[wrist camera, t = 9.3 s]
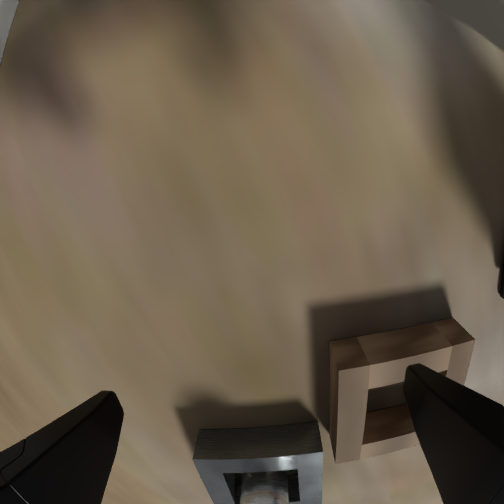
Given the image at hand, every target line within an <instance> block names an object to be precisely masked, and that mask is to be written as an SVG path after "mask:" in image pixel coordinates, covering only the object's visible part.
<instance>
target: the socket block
mask: <svg viewBox="0 0 504 504" xmlns="http://www.w3.org/2000/svg"><path fill="white" fill-rule="evenodd" d="M474 342H475V339H474V338H473V337H472V336H471V335H470V334H469V333H468V332H467V331H466V330H465V329H464V328H463V327H462V326H461V325H460V324H459V323H458V322H457V321H456V320H455V319H454V318H453V317H452V318H448V319H443V320H439V321H435V322H430V323H426V324H421V325H417V326H412V327H407V328H402V329H397V330H392V331H387V332H382V333H376V334H371V335H365V336H359V337H353V338H347V339H340V340H334V341H329V357H330V432H329V434H330V439H331V444H332V449H333V454H334V460H335V464H337V463H343V462H349V461H354V460H359V459H364V458H369V457H373V456H378V455H382V454H386V453H390V452H394V451H398V450H402V449H405V448H409V447H412V446H416V445H419V444H420V443H419V440H418V438H417V435H416V433H415V429H414V426H413V423H412V419H411V416H410V412H409V409H408V406H407V404H403V405H399V406H395V407H391V408H386V409H382V410H377V411H373V412H368V413H366V408H367V398H368V389H372V388H377V387H381V386H386V385H391V384H395V383H399V382H404V379H405V372H406V368H407V367H408V366H409V365H413V364H417V363H420V364H423V365H425V366H426V367H428V368H430V369H432V370H434V371H436V372H438V373H440V374H442V375H444V376H446V377H448V378H450V379H452V380H454V381H456V382H458V383H460V384H462V385H464V383H465V379H466V376H467V372H468V368H469V364H470V360H471V356H472V351H473V347H474Z"/></svg>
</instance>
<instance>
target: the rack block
mask: <svg viewBox="0 0 504 504" xmlns="http://www.w3.org/2000/svg"><path fill="white" fill-rule="evenodd" d="M193 461H194V464H195V466H196V468H197V470H198V472H199V474H200V476H201V479H202V481H203V483H204V485H205V487H206V489H207V491H208V493H209V495H210V497H211V499H212V501H213V503H214V504H240V498H241V484H242V478H237V475H236V473H252V472H270V471H282V470H293V469H298V474H294V475H287V477H288V498H289V504H322V481H323V448H322V442H321V436H320V431H319V425H318V421H315V422H308V423H300V424H291V425H281V426H270V427H257V428H240V429H199V433H198V437H197V442H196V446H195V451H194V455H193Z"/></svg>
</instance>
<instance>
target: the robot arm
mask: <svg viewBox="0 0 504 504" xmlns="http://www.w3.org/2000/svg"><path fill="white" fill-rule="evenodd" d="M500 297H502V298H503V299H504V264H503V273H502V281H501V288H500ZM403 392H404V396H405V399H406V402H407V406H408V409H409V412H410V416H411V419H412V423H413V426H414V429H415V433H416V435H417V438H418V440H419V443H420V445H421V447H422V450H423V452H424V455H425V457H426V460H427V462H428V464H429V467H430V469H431V472H432V475H433V477H434V480H435V482H436V485H437V487H438V490H439V493H440V495H441V498H442V501H443V503H444V504H504V407H503V405H501V404H499V403H497V402H495V401H493V400H491V399H489V398H487V397H485V396H483V395H481V394H479V393H477V392H475V391H473V390H471V389H469V388H467V387H465V386H464V385H462V384H460V383H458V382H456V381H454V380H452V379H450V378H448V377H446V376H444V375H442V374H440V373H438V372H436V371H434V370H432V369H430V368H428V367H426V366H425V365H423V364H420V363H417V364H413V365H409V366H408V367H407V368H406V372H405V379H404V385H403ZM123 417H124V412H123V408H122V406H121V404H120V402H119V400H118V398H117V396H116V394H115V393H114V392H113V391H101V392H99V393H98V394H96V395H94V396H93V397H91V398H90V399H88V400H87V401H85V402H83V403H82V404H80V405H79V406H77V407H75V408H74V409H72V410H71V411H69V412H67V413H66V414H64V415H63V416H61V417H59V418H58V419H56V420H54V421H53V422H51V423H50V424H48V425H46V426H45V427H43V428H41V429H40V430H38V431H36V432H35V433H33V434H31V435H30V436H28V437H26V439H23V440H21V441H20V442H18V443H16V444H15V445H13V446H11V447H9V448H7V449H5V450H3V451H1V452H0V504H101V502H102V498H103V495H104V491H105V488H106V485H107V481H108V478H109V475H110V472H111V468H112V465H113V462H114V459H115V455H116V451H117V447H118V442H119V437H120V432H121V427H122V422H123Z"/></svg>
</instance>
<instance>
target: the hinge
mask: <svg viewBox="0 0 504 504" xmlns="http://www.w3.org/2000/svg"><path fill="white" fill-rule="evenodd" d="M18 4H19V1H17V0H0V64H1V60H2V56H3V52H4V48H5V45H6V41H7V37H8V34H9V31H10V27H11V24H12V21H13V18H14V15H15V12H16V9H17V7H18Z"/></svg>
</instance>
